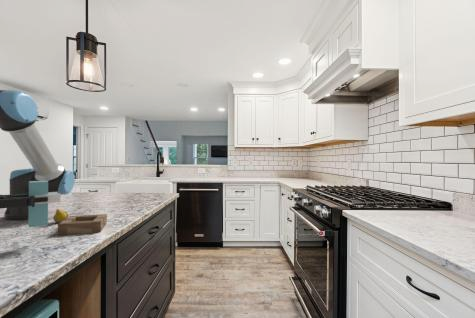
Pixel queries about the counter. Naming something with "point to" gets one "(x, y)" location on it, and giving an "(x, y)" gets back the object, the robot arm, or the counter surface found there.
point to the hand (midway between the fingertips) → (58, 196)
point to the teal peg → (40, 211)
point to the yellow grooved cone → (60, 216)
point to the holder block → (82, 224)
